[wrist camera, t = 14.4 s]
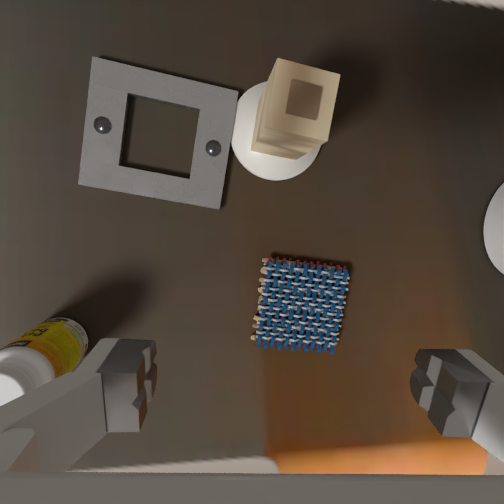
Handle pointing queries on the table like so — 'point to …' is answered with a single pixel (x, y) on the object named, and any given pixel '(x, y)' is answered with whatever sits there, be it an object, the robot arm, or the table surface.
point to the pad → (256, 161)
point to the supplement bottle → (40, 357)
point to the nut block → (294, 110)
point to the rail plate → (114, 125)
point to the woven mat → (300, 304)
